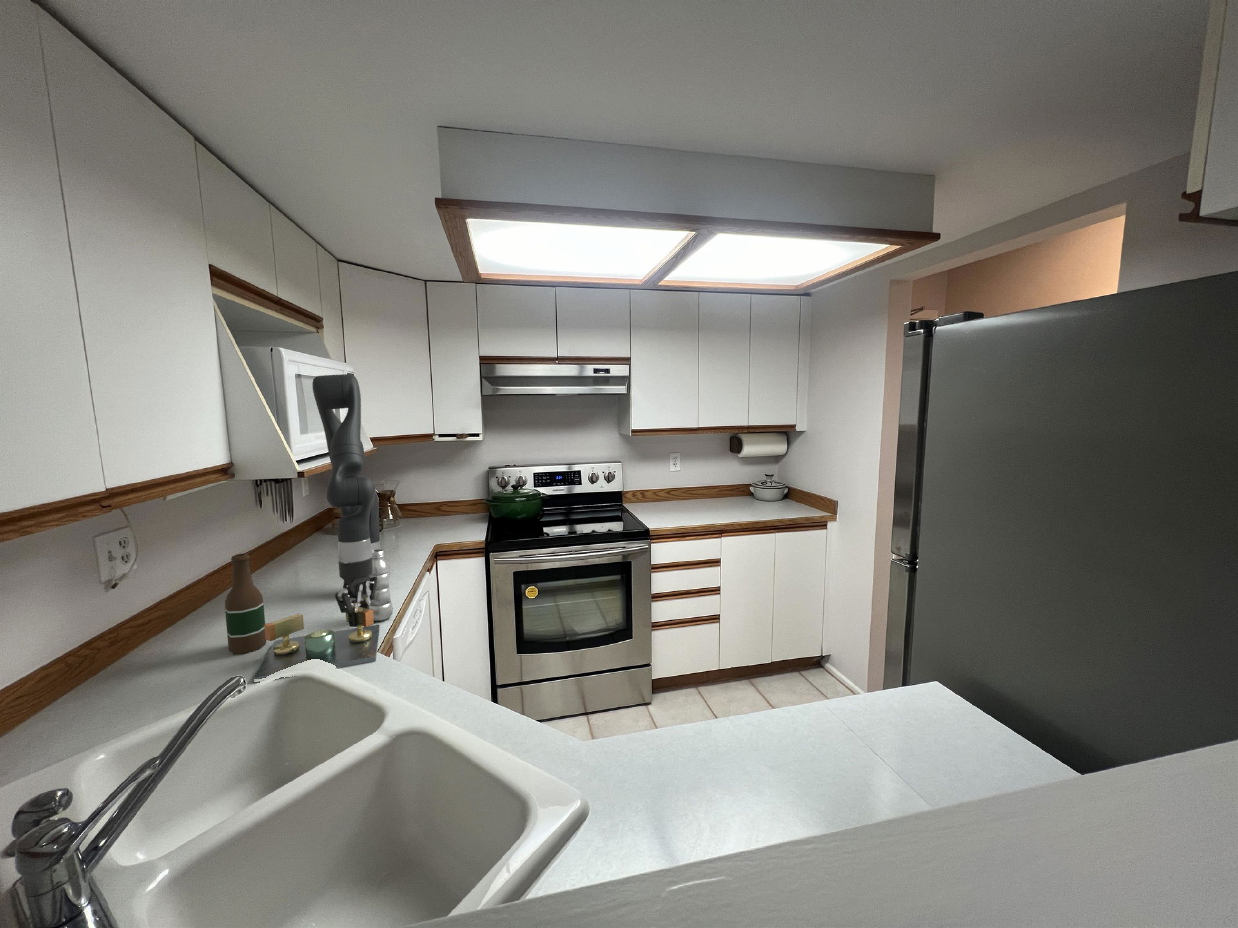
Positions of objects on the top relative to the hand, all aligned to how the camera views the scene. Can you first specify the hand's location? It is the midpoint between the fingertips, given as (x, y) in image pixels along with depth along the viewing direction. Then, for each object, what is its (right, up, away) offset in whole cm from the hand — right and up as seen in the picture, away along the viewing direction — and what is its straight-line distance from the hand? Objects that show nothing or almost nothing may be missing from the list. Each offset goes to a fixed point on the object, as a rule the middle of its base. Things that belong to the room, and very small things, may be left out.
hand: (359, 622), depth 128 cm
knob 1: (-15, -5, -6) cm, 16 cm away
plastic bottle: (-2, -4, +16) cm, 17 cm away
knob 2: (0, -4, 0) cm, 4 cm away
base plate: (-7, -6, -4) cm, 10 cm away
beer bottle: (-27, -6, -1) cm, 28 cm away
